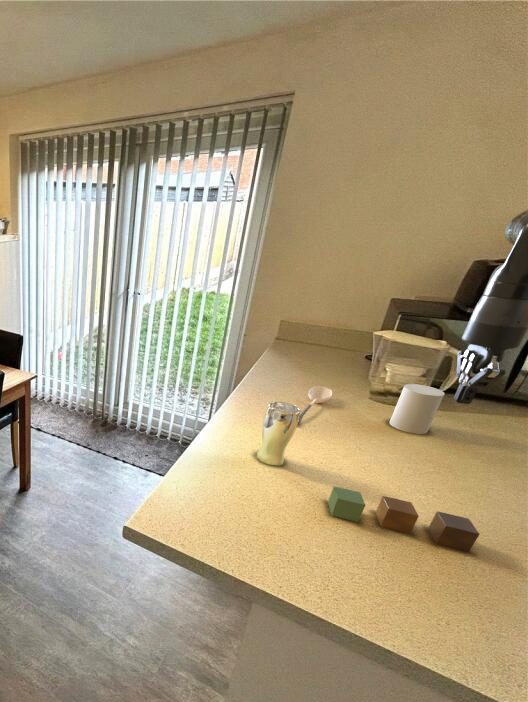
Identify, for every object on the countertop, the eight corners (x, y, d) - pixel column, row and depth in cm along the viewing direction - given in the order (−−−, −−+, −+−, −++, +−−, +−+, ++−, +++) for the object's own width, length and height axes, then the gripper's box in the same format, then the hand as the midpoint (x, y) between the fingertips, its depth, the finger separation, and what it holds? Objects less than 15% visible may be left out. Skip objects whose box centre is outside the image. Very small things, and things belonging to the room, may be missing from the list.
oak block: (403, 519, 81) (411, 502, 79) (410, 533, 77) (419, 516, 75) (375, 512, 83) (382, 495, 81) (380, 526, 79) (388, 508, 77)
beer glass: (271, 450, 105) (285, 399, 99) (292, 464, 99) (308, 412, 93) (248, 452, 104) (261, 402, 98) (268, 468, 98) (283, 415, 92)
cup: (433, 435, 110) (451, 397, 105) (397, 431, 113) (413, 393, 108) (418, 422, 117) (434, 386, 112) (384, 418, 120) (398, 382, 115)
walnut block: (458, 536, 76) (468, 518, 75) (469, 552, 73) (479, 534, 71) (427, 528, 78) (436, 510, 77) (436, 543, 75) (446, 525, 73)
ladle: (333, 397, 132) (337, 385, 129) (303, 438, 117) (307, 426, 115) (312, 391, 136) (315, 379, 134) (280, 430, 121) (283, 418, 119)
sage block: (353, 508, 84) (360, 492, 82) (358, 522, 80) (365, 505, 78) (327, 502, 86) (333, 486, 84) (331, 515, 82) (337, 498, 80)
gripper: (550, 330, 67) (504, 419, 74) (509, 314, 78) (471, 393, 85) (489, 326, 71) (449, 411, 78) (457, 311, 81) (425, 387, 88)
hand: (461, 401), depth 81 cm, fingers closed
